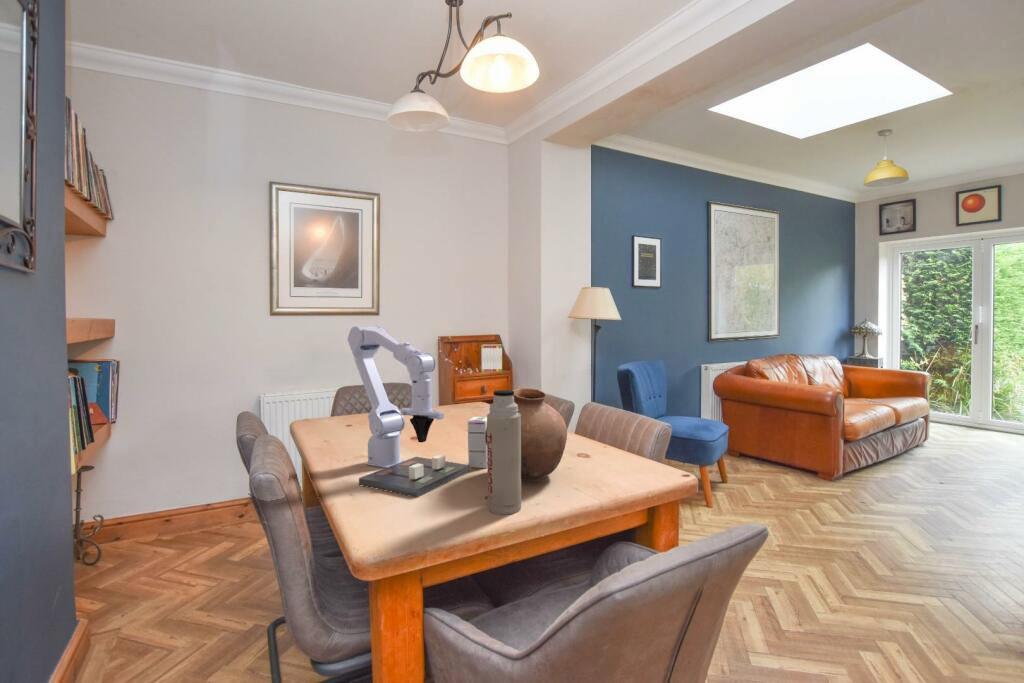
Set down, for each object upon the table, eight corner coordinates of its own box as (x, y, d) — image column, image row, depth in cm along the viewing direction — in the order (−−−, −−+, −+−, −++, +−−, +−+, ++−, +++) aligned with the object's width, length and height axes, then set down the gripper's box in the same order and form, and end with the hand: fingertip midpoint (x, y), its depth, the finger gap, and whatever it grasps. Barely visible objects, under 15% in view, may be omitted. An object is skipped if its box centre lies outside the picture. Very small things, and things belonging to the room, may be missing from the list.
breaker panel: (359, 485, 138) (358, 477, 138) (416, 462, 159) (416, 456, 159) (417, 497, 128) (417, 489, 128) (469, 471, 149) (469, 464, 149)
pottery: (507, 462, 159) (507, 382, 158) (578, 471, 149) (578, 386, 148) (470, 483, 139) (469, 392, 138) (549, 496, 129) (548, 397, 127)
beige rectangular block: (409, 478, 136) (408, 466, 136) (417, 474, 139) (417, 463, 139) (415, 479, 135) (414, 467, 135) (423, 475, 138) (423, 464, 138)
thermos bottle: (488, 515, 117) (487, 393, 115) (487, 502, 125) (486, 388, 123) (523, 513, 117) (522, 392, 116) (519, 501, 125) (518, 388, 124)
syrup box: (486, 468, 153) (486, 420, 152) (467, 467, 154) (467, 419, 153) (491, 463, 158) (490, 416, 158) (473, 462, 159) (472, 416, 159)
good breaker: (432, 468, 145) (431, 457, 145) (439, 465, 148) (439, 454, 148) (437, 469, 144) (437, 458, 144) (445, 466, 147) (445, 455, 147)
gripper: (393, 395, 149) (394, 441, 149) (432, 399, 141) (433, 447, 142) (409, 392, 155) (410, 436, 155) (448, 395, 147) (448, 442, 148)
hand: (422, 441), depth 149 cm, fingers closed
